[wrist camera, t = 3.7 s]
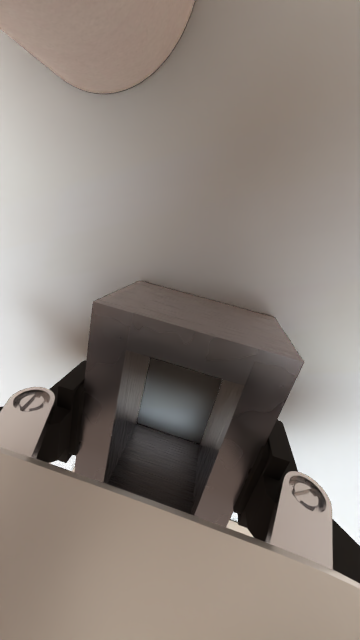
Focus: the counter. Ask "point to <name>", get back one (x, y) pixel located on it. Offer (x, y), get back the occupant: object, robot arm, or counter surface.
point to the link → (192, 353)
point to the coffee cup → (97, 37)
